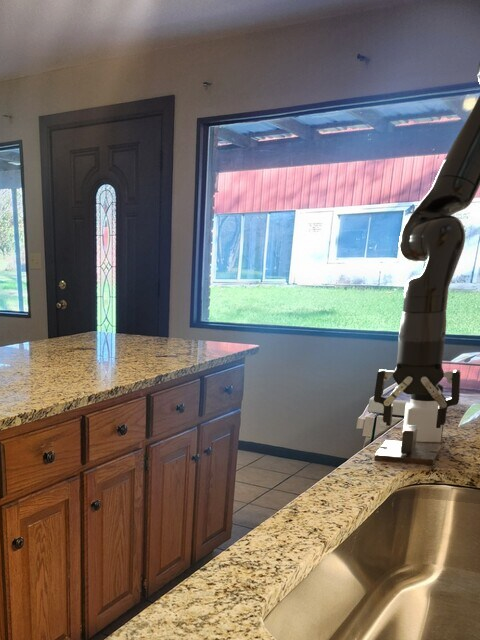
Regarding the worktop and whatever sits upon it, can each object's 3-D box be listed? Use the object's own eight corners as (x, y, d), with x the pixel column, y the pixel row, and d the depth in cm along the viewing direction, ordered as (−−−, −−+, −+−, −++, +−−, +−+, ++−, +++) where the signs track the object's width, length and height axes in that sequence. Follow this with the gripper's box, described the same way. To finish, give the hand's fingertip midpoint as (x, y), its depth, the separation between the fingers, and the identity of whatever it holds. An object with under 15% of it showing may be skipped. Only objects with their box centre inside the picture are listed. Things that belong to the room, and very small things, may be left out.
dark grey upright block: (405, 445, 133) (407, 423, 132) (415, 445, 132) (417, 424, 131) (400, 452, 129) (403, 430, 127) (411, 453, 128) (413, 431, 126)
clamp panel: (439, 459, 134) (441, 443, 133) (432, 475, 124) (434, 459, 123) (383, 454, 139) (385, 439, 138) (372, 470, 129) (374, 453, 128)
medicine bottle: (441, 442, 145) (448, 386, 141) (404, 441, 147) (410, 386, 143) (437, 435, 151) (444, 380, 147) (402, 434, 153) (408, 380, 149)
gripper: (467, 335, 122) (456, 424, 128) (382, 335, 129) (375, 420, 134) (465, 339, 116) (454, 432, 122) (376, 340, 123) (369, 428, 128)
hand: (413, 426), depth 128 cm, fingers open, 8 cm apart
